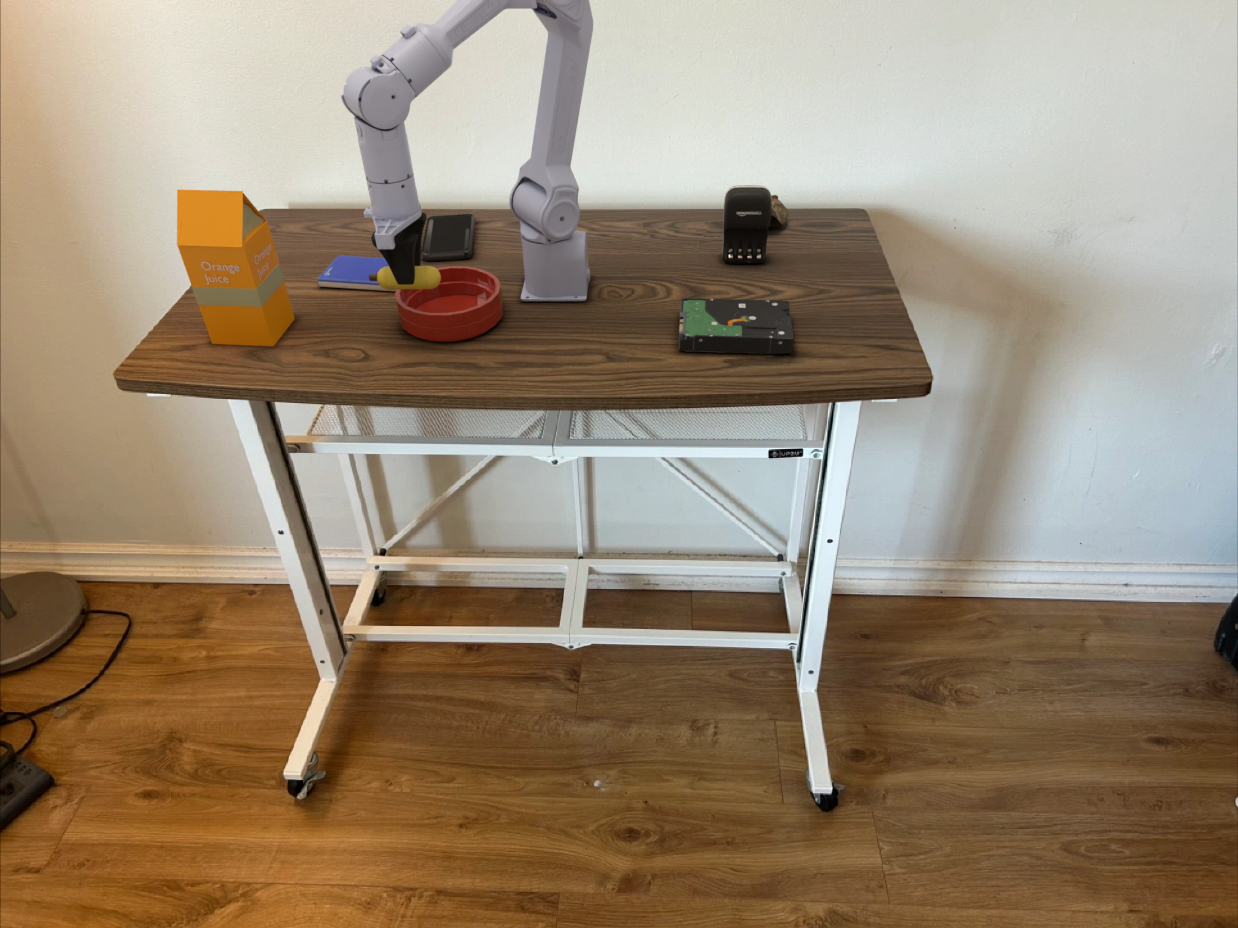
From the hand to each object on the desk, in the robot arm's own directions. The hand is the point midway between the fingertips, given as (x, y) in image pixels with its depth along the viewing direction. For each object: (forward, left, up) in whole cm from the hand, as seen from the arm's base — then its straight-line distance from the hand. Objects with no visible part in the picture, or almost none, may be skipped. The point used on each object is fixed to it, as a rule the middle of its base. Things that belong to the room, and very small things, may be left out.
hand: (409, 276), depth 117 cm
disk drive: (-43, +1, -9) cm, 44 cm away
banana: (0, 0, -2) cm, 2 cm away
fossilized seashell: (-49, -34, -9) cm, 60 cm away
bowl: (-4, -4, -8) cm, 10 cm away
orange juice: (+23, 0, -9) cm, 25 cm away
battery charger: (-46, -21, -9) cm, 51 cm away
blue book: (+11, -16, -9) cm, 21 cm away
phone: (+1, -29, -8) cm, 30 cm away
